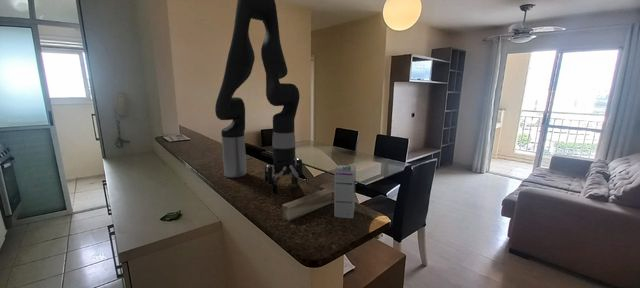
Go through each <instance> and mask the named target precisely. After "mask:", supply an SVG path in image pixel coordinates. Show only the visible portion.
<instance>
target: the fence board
mask: <svg viewBox="0 0 640 288" xmlns="http://www.w3.org/2000/svg"><path fill="white" fill-rule="evenodd" d="M304 196H305V197H302V198H299V199H297V200H294V201H291V202H290V201H289V202H285V203H283V204H282V205H281V206H282V207H281V208H282V209H281V210H282V219H284V220H286V221H288V222H291V221H293V220H295V219H297V218H300V217H302V216H304V215H306V214H308V213H311V212H313V211H316V210H319V209H320V208H323V207H325V206H327V205H330V204H332V203H333V191H332V190H329V189H327V188H325V189H322V190H319V191H315V192H314V193H311V194H308V195H304Z"/></svg>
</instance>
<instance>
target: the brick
mask: <svg viewBox="0 0 640 288" xmlns="http://www.w3.org/2000/svg"><path fill="white" fill-rule="evenodd" d="M287 196H288V198H289V199H288V200H289V202H291V201H294V200H297V199H299V198H302V197H305V196H306V195H305V192H304V191H303V189H302V188H301V186H300V184H299V183H298V184H292V183H290V184H289V183H288V184H287Z"/></svg>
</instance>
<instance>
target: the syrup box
mask: <svg viewBox="0 0 640 288" xmlns="http://www.w3.org/2000/svg"><path fill="white" fill-rule="evenodd" d="M333 188H334V191H333V193H334V194H333V197H334V200H333V201H334V202H333V203H334V205H333V213H334V217H335V218H339V219H340V218H341V219H351V220H352V219H354V215H355V212H356V211H355V210H356V207H355V206H356V204H355V203H356V166H354V165H345V164H343V165H341V164H340V165H337V166H336V168H335V170H334V187H333Z"/></svg>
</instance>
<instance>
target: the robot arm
mask: <svg viewBox="0 0 640 288" xmlns="http://www.w3.org/2000/svg"><path fill="white" fill-rule="evenodd" d="M277 10H278V9H277V5H276V0H237V3H236V9H235V19H234V27H233V32H232V37H231V41H230V46H229V49H228V53H227V54H228V55H227V58H226V59H227V60H226V65H225V69H224V73H223V74H224V75H223V78H222V83H221V86H220V88H219V92H218V96H217V99H216V101H215V106H214V109H215V111H214V112H215V116H216V118H217V119H219V120H220V121H232V122H231V123H230V124H229V125H228V126H226V127H224V128H222V129H221V146H222V160H223V162H222V163H223V174H224V175H223V176H224V177H226V178H231V179H232V178H240V177H243V176H246V175H247V158H246V157H247V156H246V139H245V138H246V137H245V131H246V106H245V102H244V100H243V98H241V97H236V96H235V97H233V96H234V94H235V92H236V91H237V90H238V89H239V88H240V87H241V86H242V85H243V84H244V83H245V82H247V80H248V79H249V77H251V74H252V70H253V66H254V63H255V61H256V60H255V58H256V56H255V51H254V49H253V46H252V43H251V39H250V33H249V31H250V23H251V19H252V20H256V21H262V23H263V26H264V28H265V35H264V40H263V42H262V44H261V50H260V52H261V53H260V55H261V61H262V64H263V68H264V71H265V96H266V99H267V101H268V103H269V104H270V105H272V106H273V107H281V106H282V109H281V111H280V112H278V113H275V114H274V115H273V116H272V137H271V138H272V139H271V141H272V143H271V144H272V147H271V148H272V160H273V163H272V164H271V165H270V164H269V165H268V164H265V166H264V183H265V184H267V185H270V186H269V187H270V193H271V194H272V195H273V196H277V195H278V184H277V183H278V182H279V180H280V179H281V178H282V177H285V176H286V175H290V176H291V177H290V179H291V184H299V177H300V176H303V160H302V159H301V158H298V157H296V134H295V133H296V132H295V120H296V115H297V112H298V111H297V110H298V107H299V104H300V98H301V97H300V90H299V88H298V86H297V85H296V84H294V83H286V82H284V83H281V82H280V79H283V78H285V77H286V76H287V75H288V67H287V63H286V59H285V57H284V52H283V49H282V44H281V43H282V42H281V36H280V28H279V18H278V13H277ZM294 167H295V168H294Z"/></svg>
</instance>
